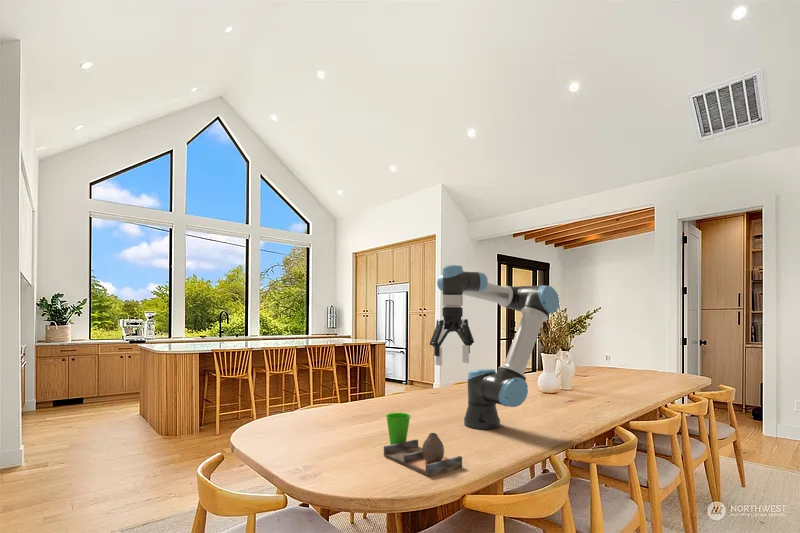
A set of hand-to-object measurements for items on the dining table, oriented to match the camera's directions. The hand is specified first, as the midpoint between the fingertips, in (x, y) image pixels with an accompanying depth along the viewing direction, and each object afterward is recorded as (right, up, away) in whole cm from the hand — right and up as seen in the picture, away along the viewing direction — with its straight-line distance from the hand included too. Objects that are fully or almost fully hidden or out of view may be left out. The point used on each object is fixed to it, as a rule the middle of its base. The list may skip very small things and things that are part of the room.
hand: (452, 364), depth 176 cm
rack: (-12, -27, -22) cm, 37 cm away
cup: (-20, -28, -7) cm, 35 cm away
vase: (-9, -26, -27) cm, 38 cm away
